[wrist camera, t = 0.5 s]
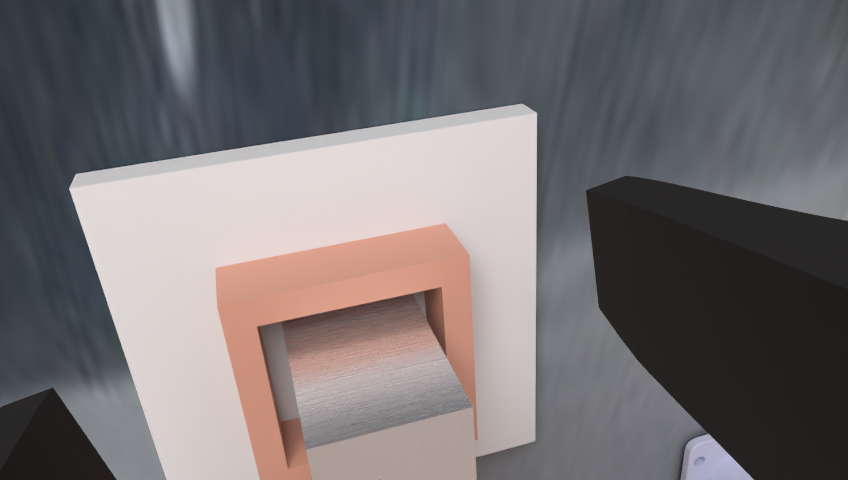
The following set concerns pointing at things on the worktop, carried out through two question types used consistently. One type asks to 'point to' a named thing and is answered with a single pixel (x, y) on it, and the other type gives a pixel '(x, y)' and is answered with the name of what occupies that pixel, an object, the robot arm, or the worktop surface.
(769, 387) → the robot arm
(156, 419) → the stand base
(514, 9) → the worktop surface
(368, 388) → the column
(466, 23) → the worktop surface
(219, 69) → the worktop surface
